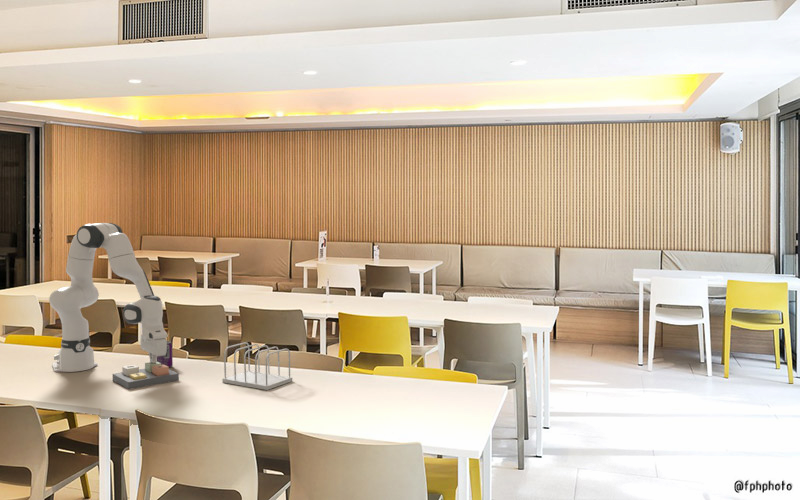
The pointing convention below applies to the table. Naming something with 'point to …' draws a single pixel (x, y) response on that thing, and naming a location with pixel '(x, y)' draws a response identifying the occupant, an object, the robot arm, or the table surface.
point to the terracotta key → (160, 370)
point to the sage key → (149, 365)
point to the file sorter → (256, 378)
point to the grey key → (130, 370)
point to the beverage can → (166, 356)
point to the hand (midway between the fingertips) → (153, 362)
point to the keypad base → (144, 379)
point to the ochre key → (137, 376)
